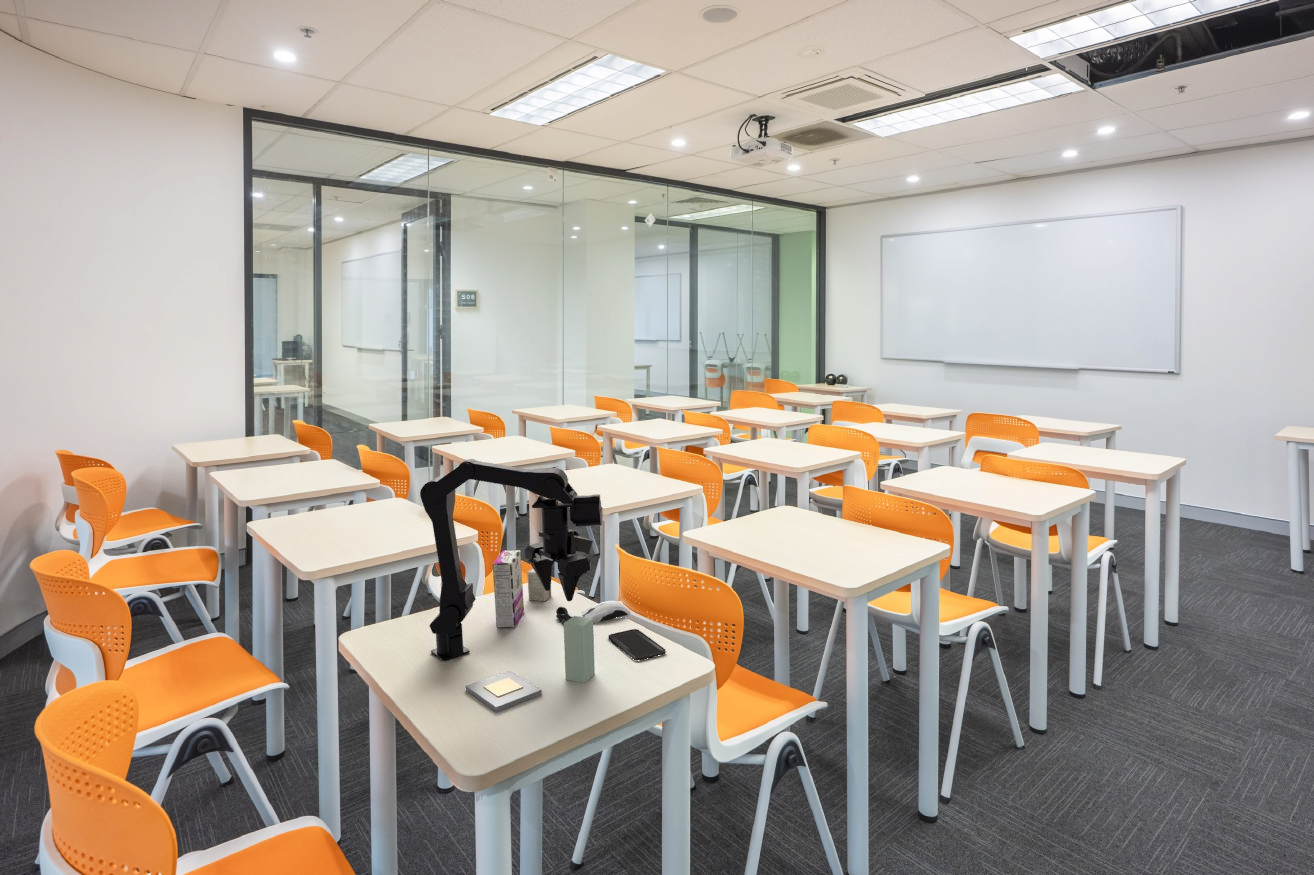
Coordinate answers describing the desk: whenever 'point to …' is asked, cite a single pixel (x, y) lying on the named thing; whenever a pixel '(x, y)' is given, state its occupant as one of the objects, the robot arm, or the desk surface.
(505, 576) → the candy bar box
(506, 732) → the desk surface
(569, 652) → the sage block
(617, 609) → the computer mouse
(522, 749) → the desk surface
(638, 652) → the phone
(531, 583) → the small box
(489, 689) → the pad
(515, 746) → the desk surface
